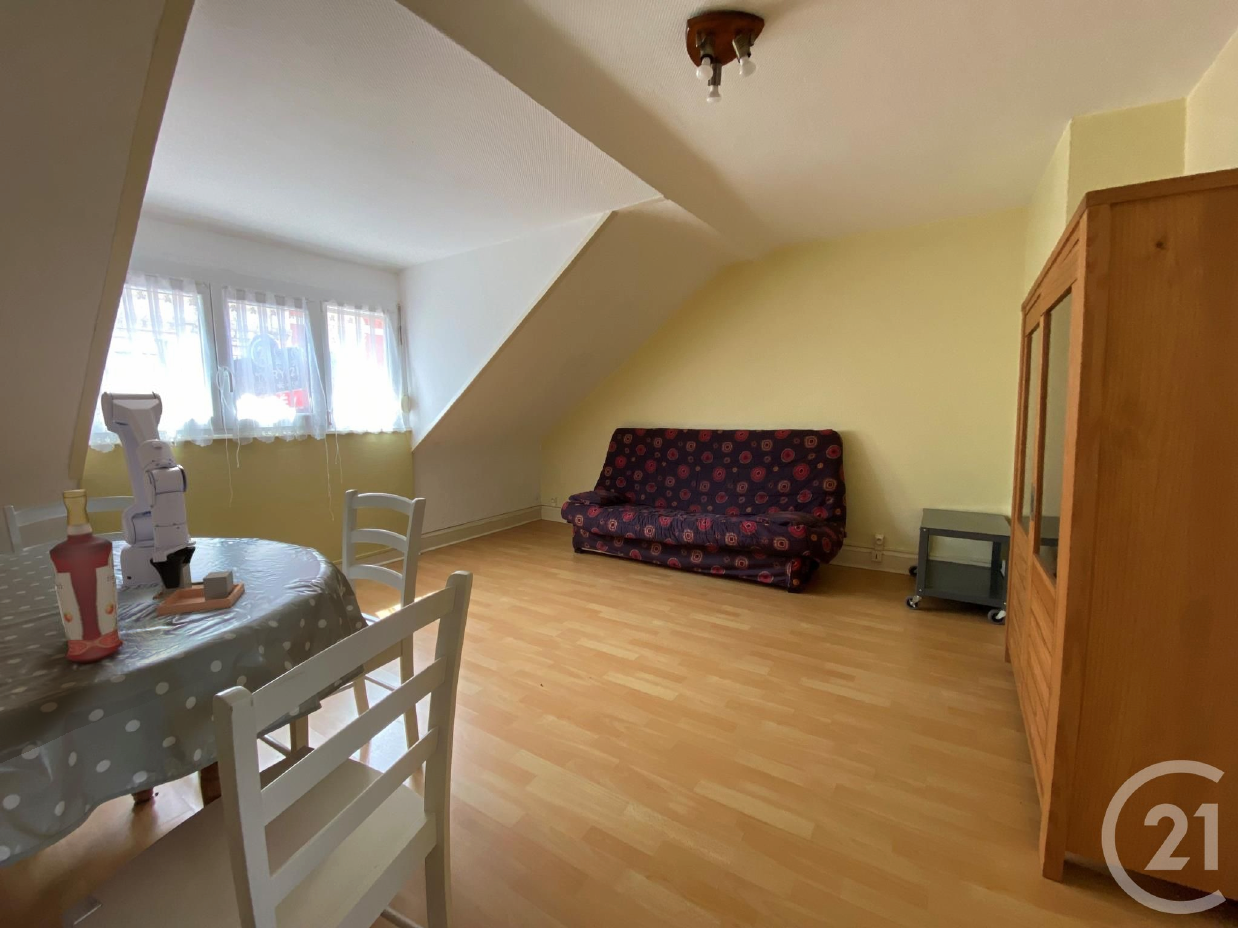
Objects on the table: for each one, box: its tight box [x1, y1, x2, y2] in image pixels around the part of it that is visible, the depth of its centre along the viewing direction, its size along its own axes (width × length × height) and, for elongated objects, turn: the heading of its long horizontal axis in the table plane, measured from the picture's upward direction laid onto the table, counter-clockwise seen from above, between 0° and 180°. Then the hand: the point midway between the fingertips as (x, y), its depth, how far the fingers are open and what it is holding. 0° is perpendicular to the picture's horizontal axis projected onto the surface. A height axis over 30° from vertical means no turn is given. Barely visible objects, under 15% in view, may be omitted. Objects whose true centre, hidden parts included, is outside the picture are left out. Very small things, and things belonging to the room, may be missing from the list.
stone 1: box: [160, 562, 193, 595], centre depth 119 cm, size 4×4×6 cm
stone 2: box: [202, 570, 235, 601], centre depth 114 cm, size 4×4×6 cm
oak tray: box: [151, 580, 204, 601], centre depth 120 cm, size 12×8×1 cm, turn 111°
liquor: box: [48, 489, 124, 664], centre depth 89 cm, size 7×7×28 cm
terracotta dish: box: [156, 582, 246, 617], centre depth 113 cm, size 12×10×2 cm
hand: (176, 584), depth 119 cm, fingers closed on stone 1, 4 cm apart
